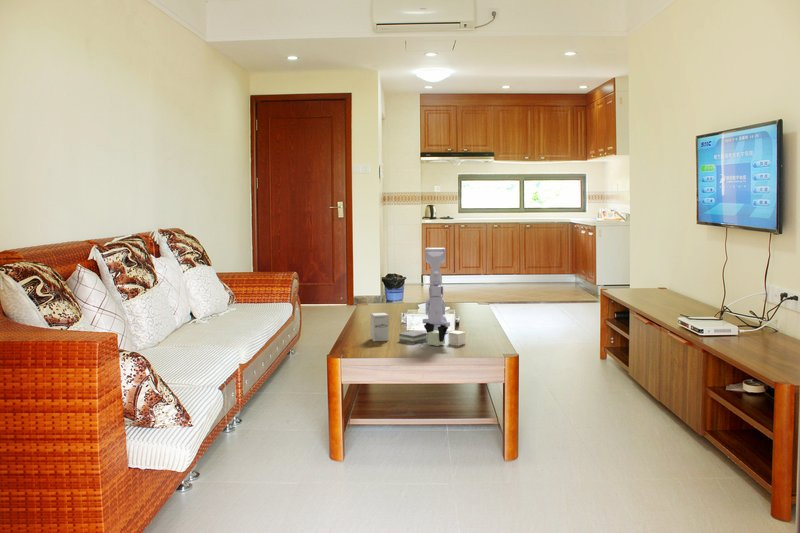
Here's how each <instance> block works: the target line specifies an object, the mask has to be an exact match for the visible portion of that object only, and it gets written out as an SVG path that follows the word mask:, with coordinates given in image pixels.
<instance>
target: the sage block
mask: <svg viewBox="0 0 800 533" xmlns="http://www.w3.org/2000/svg"><path fill="white" fill-rule="evenodd" d="M445 336H446V335H445ZM445 336H444V340H443V341H442V342H440V341H439V331H436V330H434V331H430V332H428V334H427V345H429V346H436V347H439V346H441V345H445V343H446V342H445V341H446V339H445V338H446V337H445Z"/></svg>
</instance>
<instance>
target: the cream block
mask: <svg viewBox="0 0 800 533" xmlns="http://www.w3.org/2000/svg"><path fill="white" fill-rule="evenodd" d="M462 344H463V345H466V331H461V330H453V331H448V345H453V346H457V347H458V346H461V345H462Z"/></svg>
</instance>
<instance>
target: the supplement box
mask: <svg viewBox="0 0 800 533" xmlns="http://www.w3.org/2000/svg"><path fill="white" fill-rule="evenodd" d="M389 316H390V315H389V314H388V313H386V312H376V313H375V312H373V313H370V340H371V341H373V342H374V343H376V342H386V341H387V342H388V341H389V340H390V339H389V336H390V335H389V332H390V330H389V325H390V324H389V323H390V322H389V319H390V318H389Z"/></svg>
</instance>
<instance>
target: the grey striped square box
mask: <svg viewBox="0 0 800 533" xmlns="http://www.w3.org/2000/svg"><path fill="white" fill-rule="evenodd" d="M398 339H399V342H402V343H408V344H413V345H414V344H419V343H422V342H427V334H426V333H425V332H420V331H415V330H409V331H405V332H401V333H399V336H398Z"/></svg>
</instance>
